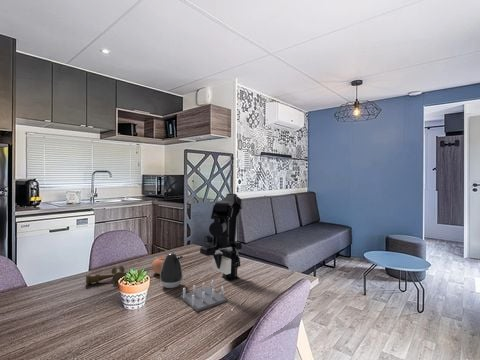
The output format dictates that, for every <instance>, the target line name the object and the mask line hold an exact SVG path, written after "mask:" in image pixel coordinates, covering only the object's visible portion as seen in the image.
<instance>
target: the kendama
mask: <svg viewBox="0 0 480 360" xmlns="http://www.w3.org/2000/svg"><path fill="white" fill-rule="evenodd" d="M127 272H128V271H127ZM127 272H126V270H125V266H123V265H120V264H118V265H115V266H113V267H112V269H111V273H106V274H105V273H104V274H101V273H98V272H97V273H95V274H90V273H87V274H86V276H85V284H86V286H89V285H91V284H93V283H97V284H98V283H100V282H101V281H103V280H107V279H110V278H112V282H113V283H114V284H117V285H118V284H119V283H118V280H119V279H120V278H122V277H123V276H125V277H126V275H127V274H126V273H127Z"/></svg>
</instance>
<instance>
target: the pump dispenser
mask: <svg viewBox="0 0 480 360" xmlns="http://www.w3.org/2000/svg"><path fill="white" fill-rule="evenodd" d="M165 257H166V258H165ZM165 257H164V258H165V260H164V262H163V265H162V268H161V273H160V274H159V280H160V283H161V285H162V286H163V287H164V288H167V289H174V288H177V287H178V286H180V285H181V284H182V280H183V278H184V273H183V266H182V263H181V259H183V258H184V256H183V255H180V256H178V255H177V254H176V253H174V252H170V253H168V254H167V255H166V256H165Z"/></svg>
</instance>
